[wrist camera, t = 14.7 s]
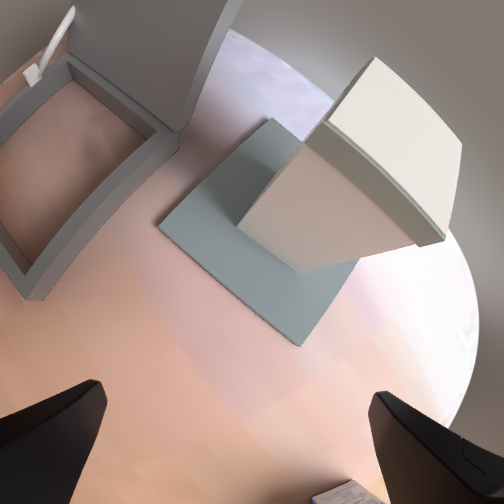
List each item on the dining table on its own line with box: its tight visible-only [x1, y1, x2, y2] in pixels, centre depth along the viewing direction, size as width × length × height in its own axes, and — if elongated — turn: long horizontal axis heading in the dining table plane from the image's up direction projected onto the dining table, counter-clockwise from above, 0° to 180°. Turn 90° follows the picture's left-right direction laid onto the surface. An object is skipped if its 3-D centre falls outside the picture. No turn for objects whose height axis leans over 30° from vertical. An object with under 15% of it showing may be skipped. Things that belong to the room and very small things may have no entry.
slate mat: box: [158, 118, 360, 347], centre depth 19 cm, size 12×12×1 cm
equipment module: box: [236, 57, 462, 273], centre depth 13 cm, size 5×5×12 cm
